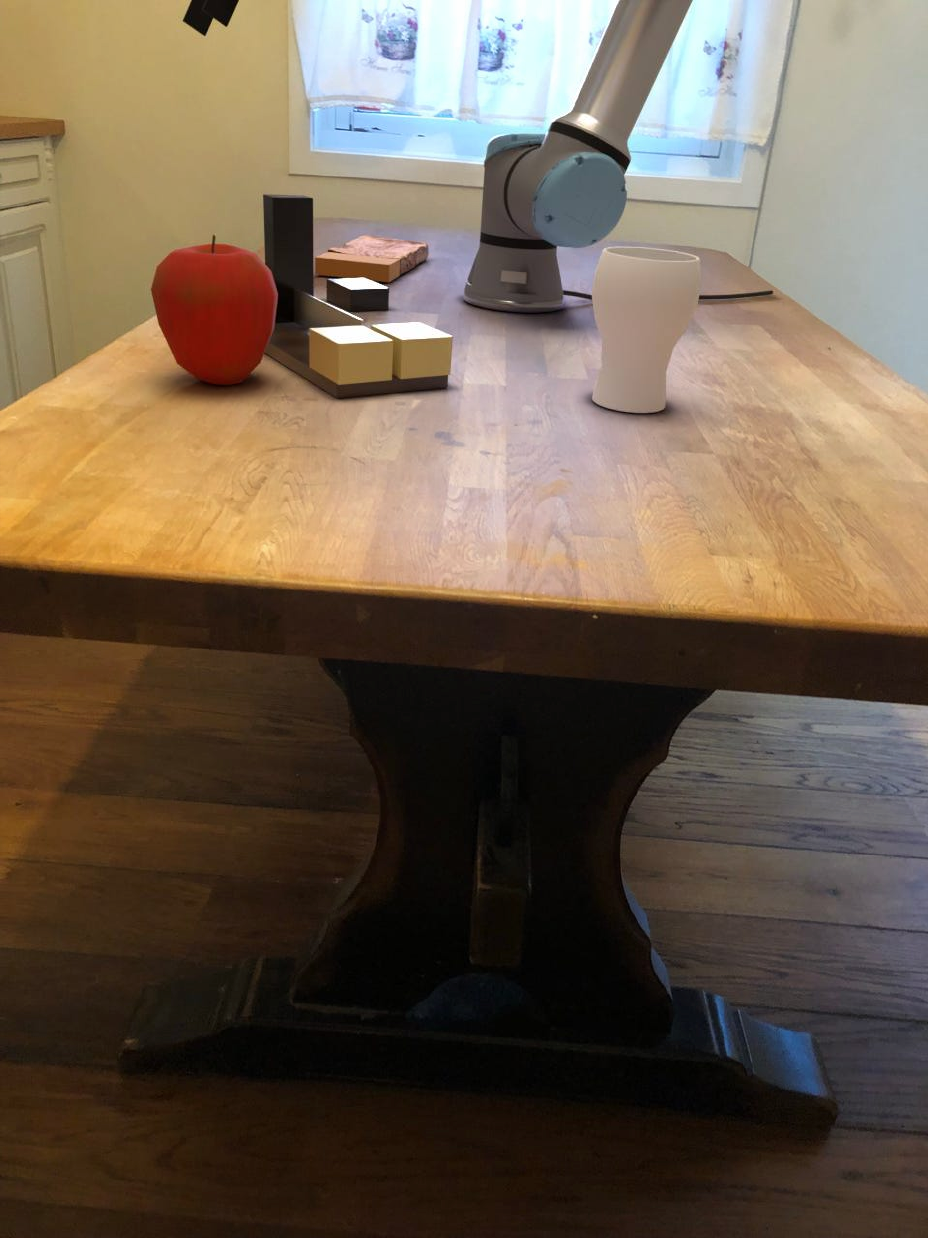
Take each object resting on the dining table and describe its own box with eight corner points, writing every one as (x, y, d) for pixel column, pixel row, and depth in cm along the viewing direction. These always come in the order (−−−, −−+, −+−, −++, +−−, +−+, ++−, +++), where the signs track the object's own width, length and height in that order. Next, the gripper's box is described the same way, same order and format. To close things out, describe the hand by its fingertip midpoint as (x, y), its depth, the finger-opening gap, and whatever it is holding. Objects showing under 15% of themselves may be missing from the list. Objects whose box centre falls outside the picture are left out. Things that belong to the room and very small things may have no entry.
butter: (309, 367, 99) (309, 328, 97) (417, 358, 105) (419, 321, 103) (338, 384, 94) (338, 343, 92) (450, 374, 100) (452, 336, 98)
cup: (678, 423, 96) (707, 266, 88) (573, 410, 97) (593, 254, 90) (678, 396, 105) (704, 252, 98) (583, 384, 106) (601, 241, 99)
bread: (312, 275, 155) (312, 254, 154) (363, 252, 181) (363, 234, 180) (389, 284, 153) (390, 262, 152) (430, 259, 179) (431, 240, 178)
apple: (179, 361, 103) (169, 222, 96) (289, 370, 103) (286, 231, 96) (142, 392, 92) (127, 237, 85) (265, 401, 92) (260, 247, 85)
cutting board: (220, 325, 120) (219, 312, 119) (315, 320, 126) (315, 308, 125) (336, 398, 95) (336, 383, 94) (447, 387, 101) (448, 373, 101)
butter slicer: (266, 318, 117) (262, 194, 110) (304, 316, 119) (302, 194, 112) (340, 359, 101) (341, 218, 95) (382, 356, 104) (385, 218, 97)
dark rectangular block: (326, 300, 138) (326, 278, 137) (363, 298, 141) (363, 277, 140) (350, 311, 132) (350, 289, 131) (388, 309, 135) (389, 287, 134)
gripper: (235, -176, 106) (156, 11, 111) (288, -246, 86) (188, -14, 90) (294, -127, 110) (215, 51, 115) (358, -182, 90) (259, 37, 94)
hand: (203, 23), depth 103 cm, fingers open, 13 cm apart
